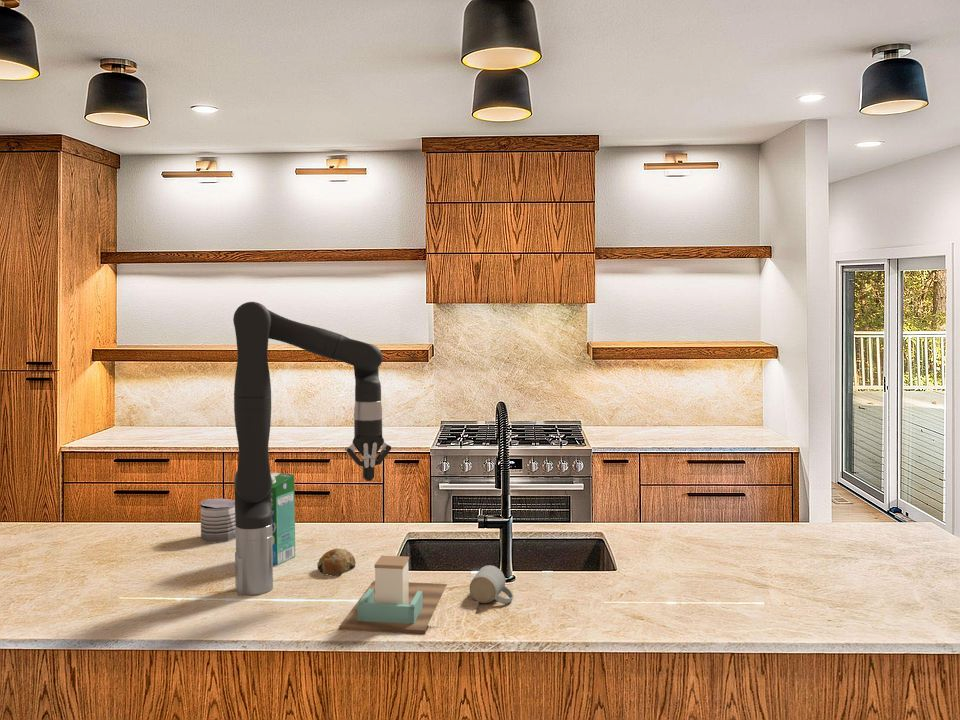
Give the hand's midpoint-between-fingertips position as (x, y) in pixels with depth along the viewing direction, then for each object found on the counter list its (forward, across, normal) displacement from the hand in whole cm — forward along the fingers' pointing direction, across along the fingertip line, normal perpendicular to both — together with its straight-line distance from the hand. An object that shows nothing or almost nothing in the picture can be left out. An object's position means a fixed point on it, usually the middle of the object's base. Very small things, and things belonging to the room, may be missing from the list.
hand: (368, 480), depth 208 cm
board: (+27, +1, -23) cm, 35 cm away
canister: (+26, -2, -28) cm, 39 cm away
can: (+27, -35, +55) cm, 71 cm away
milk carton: (+27, -22, +26) cm, 44 cm away
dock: (+27, -2, -28) cm, 39 cm away
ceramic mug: (+27, +25, -28) cm, 46 cm away
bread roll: (+27, -7, +10) cm, 30 cm away
